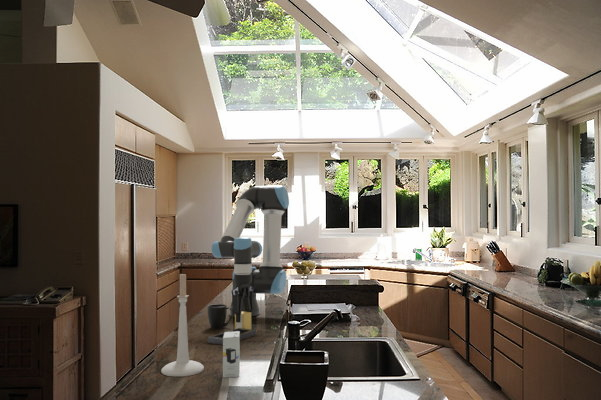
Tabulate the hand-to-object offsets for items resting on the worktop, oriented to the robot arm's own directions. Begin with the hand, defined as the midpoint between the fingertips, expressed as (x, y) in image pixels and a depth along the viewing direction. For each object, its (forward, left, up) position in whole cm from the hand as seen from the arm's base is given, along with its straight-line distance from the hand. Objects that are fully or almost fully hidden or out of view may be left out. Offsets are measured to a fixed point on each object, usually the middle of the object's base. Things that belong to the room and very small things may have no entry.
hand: (243, 328), depth 218 cm
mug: (+1, -11, -1) cm, 11 cm away
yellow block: (0, 0, 0) cm, 0 cm away
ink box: (+54, +34, -1) cm, 64 cm away
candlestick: (+58, +19, -1) cm, 61 cm away
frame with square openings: (+16, +7, 0) cm, 17 cm away
